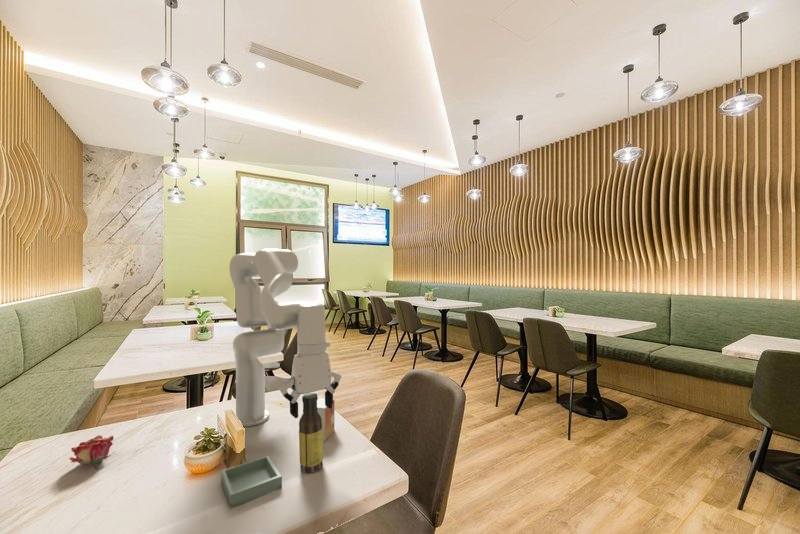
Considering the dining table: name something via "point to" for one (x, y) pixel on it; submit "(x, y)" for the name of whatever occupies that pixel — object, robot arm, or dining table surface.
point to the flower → (92, 451)
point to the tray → (250, 480)
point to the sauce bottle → (310, 435)
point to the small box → (326, 417)
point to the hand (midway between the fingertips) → (312, 411)
